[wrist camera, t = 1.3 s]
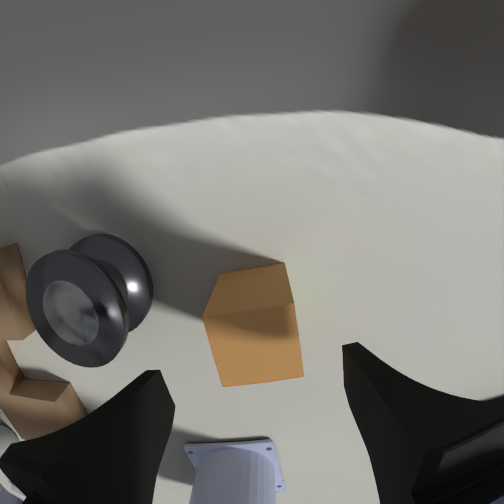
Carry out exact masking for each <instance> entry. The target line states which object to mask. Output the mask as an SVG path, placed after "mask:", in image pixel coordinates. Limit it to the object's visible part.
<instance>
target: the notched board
mask: <svg viewBox="0 0 504 504" xmlns="http://www.w3.org/2000/svg"><path fill="white" fill-rule="evenodd" d="M26 282H27V277H26V274H25V271H24V267H23V264H22V260H21V257H20V253H19V249H18V246H17V243H15V244H12V245H9V246H6V247H3V248H1V249H0V407H1V409H2V410H3V412H4V413H5V415H6V416H7V418H8V419H9V421H10V422H11V424H12V425H13V427H14V428H15V429H16V431H17V432H18V434H19V435H20V436H21V438H22V439H25V440H30V439H34V438H37V437H41V436H44V435H47V434H50V433H52V432H55V431H57V430H60V429H62V428H64V427H66V426H68V425H70V424H72V423H74V422H76V421H78V420H80V419H82V418H83V417H85V416H87V415H88V413H87V412H86V410H85V408H84V406H83V405H82V403H81V401H80V399H79V398H78V396H77V394H76V392H75V390H74V389H73V387H72V385H71V383H67V382H53V381H42V380H33V379H25V378H24V376H23V374H22V372H21V371H20V369H19V367H18V365H17V363H16V361H15V359H14V357H13V354H12V352H11V350H10V348H9V346H8V344H7V341H6V340H24V339H25V338H26V337H27V336H29V335H30V334H31V333H32V332H34V331H35V330H36V328H35V326H34V324H33V322H32V320H31V317H30V314H29V312H28V308H27V303H26Z"/></svg>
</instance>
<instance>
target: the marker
mask: <svg viewBox="0 0 504 504" xmlns="http://www.w3.org/2000/svg"><path fill="white" fill-rule="evenodd" d="M11 490H12V491H13V492H14V493H16V494H17V495H19V496H21V497H23V498H26V496H25V495H24V494H23V493H22V492H21V491H20V490H19V489H18V488H17V487H16V486H15V485H14V484H13V485H12V486H11Z"/></svg>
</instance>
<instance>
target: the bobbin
mask: <svg viewBox="0 0 504 504" xmlns="http://www.w3.org/2000/svg"><path fill="white" fill-rule="evenodd" d="M152 300H153V284H152V279H151V276H150V273H149V270H148V268H147V266H146V264H145V262H144V261H143V259H142V257H141V256H140V255H139V254H138V252H137V251H136V250H135V249H134V248H133V247H132V246H130V245H129V244H128V243H126V242H125V241H123V240H122V239H119V238H117V237H115V236H111V235H106V234H97V235H92V236H89V237H86V238H84V239H82V240H80V241H78V242H77V243H75V244H74V245H73V246H72V247H71V248H70V249H69V250H57V251H55V252H52V253H50V254H47V255H45V256H43V257H42V258H40V259H39V260H38V261H37V262H35V264H34V265H33V266H32V268H31V270H30V272H29V274H28V277H27V282H26V303H27V308H28V312H29V314H30V317H31V320H32V322H33V324H34V326H35V328H36V330H37V332H38V333H39V335H40V336H41V338H42V339H43V340H44V341H45V343H46V344H47V345H48V346H49V347H50V348H51V349H52V350H53V351H54V352H55V353H57V354H58V355H59V356H61V357H62V358H64V359H65V360H67V361H69V362H71V363H73V364H76V365H79V366H83V367H99V366H103V365H105V364H108V363H109V362H110V361H112V360H113V359H114V358H115V357H116V355H117V354H118V353H119V351H120V350H121V349H122V347H123V346H124V344H125V341H126V339H127V335H128V332H130V331H132V330H134V329H135V328H136V327H138V325H139V324H140V323H141V322H142V321H143V320H144V318H145V317H146V315H147V314H148V312H149V310H150V308H151V304H152Z"/></svg>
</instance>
